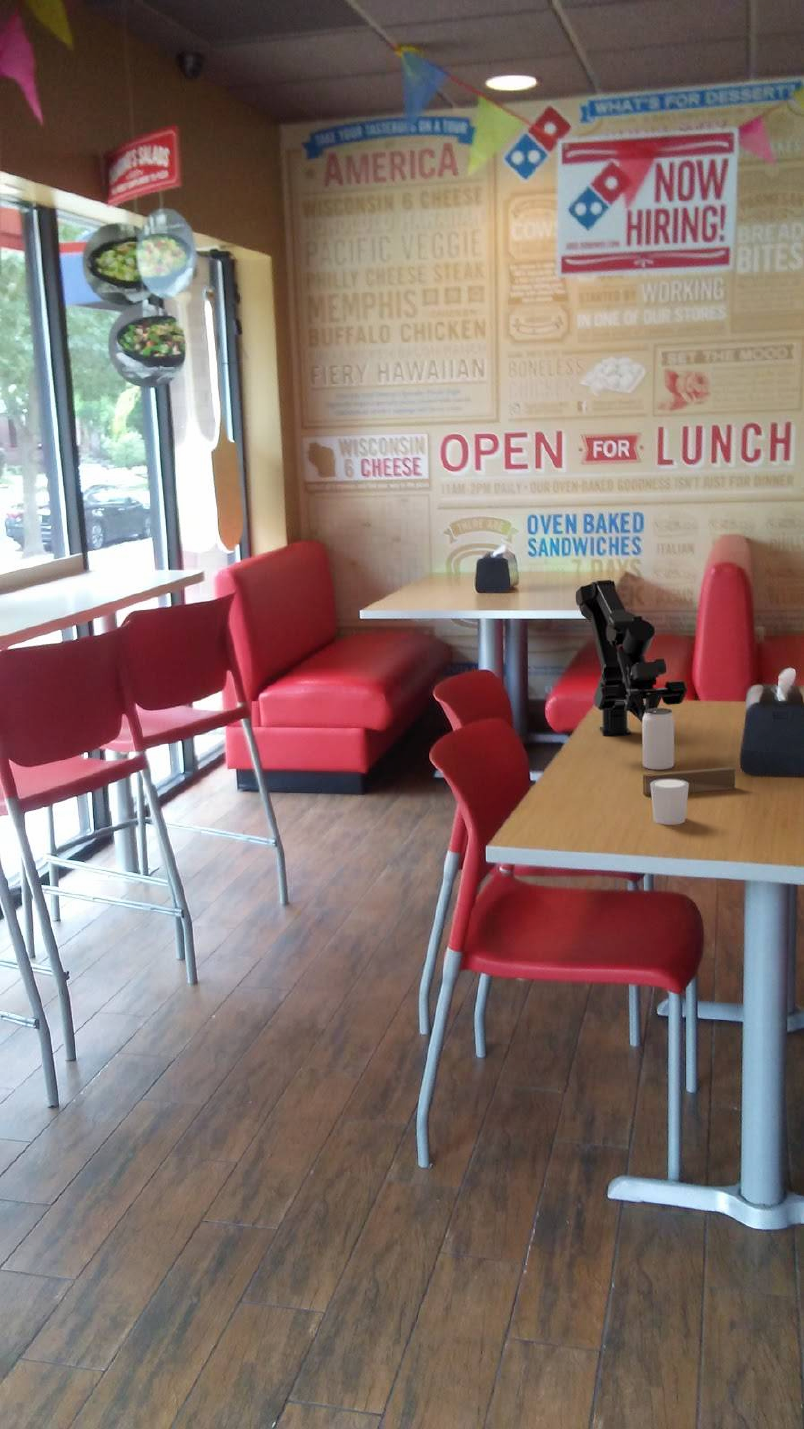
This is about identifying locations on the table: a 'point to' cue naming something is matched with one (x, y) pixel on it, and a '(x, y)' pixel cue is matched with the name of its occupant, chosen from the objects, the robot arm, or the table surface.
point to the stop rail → (696, 779)
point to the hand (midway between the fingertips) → (650, 728)
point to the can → (658, 739)
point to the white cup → (669, 801)
